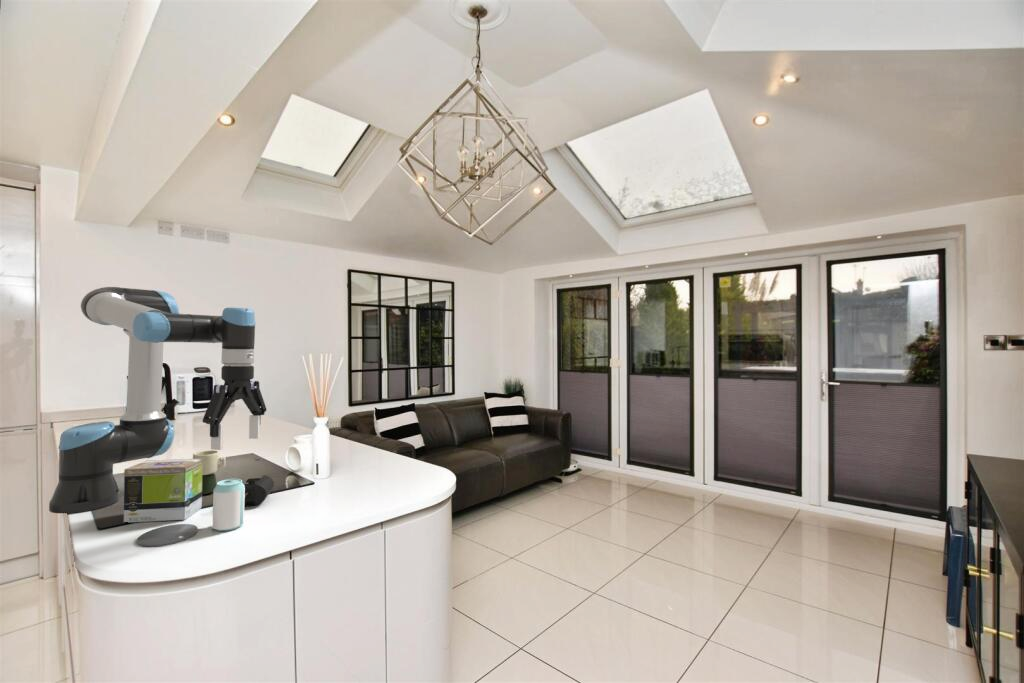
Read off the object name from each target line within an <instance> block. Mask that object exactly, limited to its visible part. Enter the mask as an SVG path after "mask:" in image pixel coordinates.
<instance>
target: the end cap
mask: <svg viewBox="0 0 1024 683" xmlns="http://www.w3.org/2000/svg"><path fill="white" fill-rule="evenodd" d="M243 484H244V485H245V494H246V495H245V500H244V509H245V508H256V507H258V506H260V505H261V504H262V503H263V502H264V501H265V500H266V499H267V498H268V496H269V494H271V491H272V490H273V489H274V487H275V483H274V480H273V478H272V477H271V476H269V475H262V476H261V477H255V478H248V479H247V480H246V481H245V483H243Z"/></svg>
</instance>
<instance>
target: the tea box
mask: <svg viewBox="0 0 1024 683" xmlns="http://www.w3.org/2000/svg"><path fill="white" fill-rule="evenodd" d="M123 477H124V479H123V523H124V522H128V523H144V522H163V521H184V520H186V519H188V518H189V517H191V516H192V515H194V514H195V513H197V512H198V511H199V510H201V509H202V506H203V505H202V504H203V494H202V459H193V458H186V459H185V458H183V459H182V458H180V459H175V458H174V459H151V460H145V461H142V462H140V463H137V464H134V465H133V466H129V467H127V468H125V469H124V474H123Z"/></svg>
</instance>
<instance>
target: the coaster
mask: <svg viewBox="0 0 1024 683" xmlns="http://www.w3.org/2000/svg"><path fill="white" fill-rule="evenodd" d="M197 533H198V527H197V525H194V524H189V523H179V524H178V523H177V524H170V525H165V526H160V527H157V528H154V529H151V530H148V531H146V532H144V533H142V534H140V535H139V536H138V537H137V539H136V540H137V542H136V543H137V545H138V546H140V547H145V548H157V547H164V546H169V545H173V544H174V545H175V544H177V543H181V542H183V541H186V540H188V539H190V538H193V537H194V536H195V535H196V534H197Z"/></svg>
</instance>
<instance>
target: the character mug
mask: <svg viewBox="0 0 1024 683" xmlns="http://www.w3.org/2000/svg"><path fill="white" fill-rule="evenodd" d="M192 459H202V495H206V494H211V493H213V490H214V488H215V487H216V486H217V483H218V482H217V477H216V474H215V473H217V472H218V471H219V469H221V468H222V469H223V468H225V467H226V464H227V463H226V460H227V459H226V457H225V456H223V457H222V456H221V457H220V450H211V449H208V450H201V451H197V452H194V453H193V454H192ZM220 461H222V463H221V464H220Z"/></svg>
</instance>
